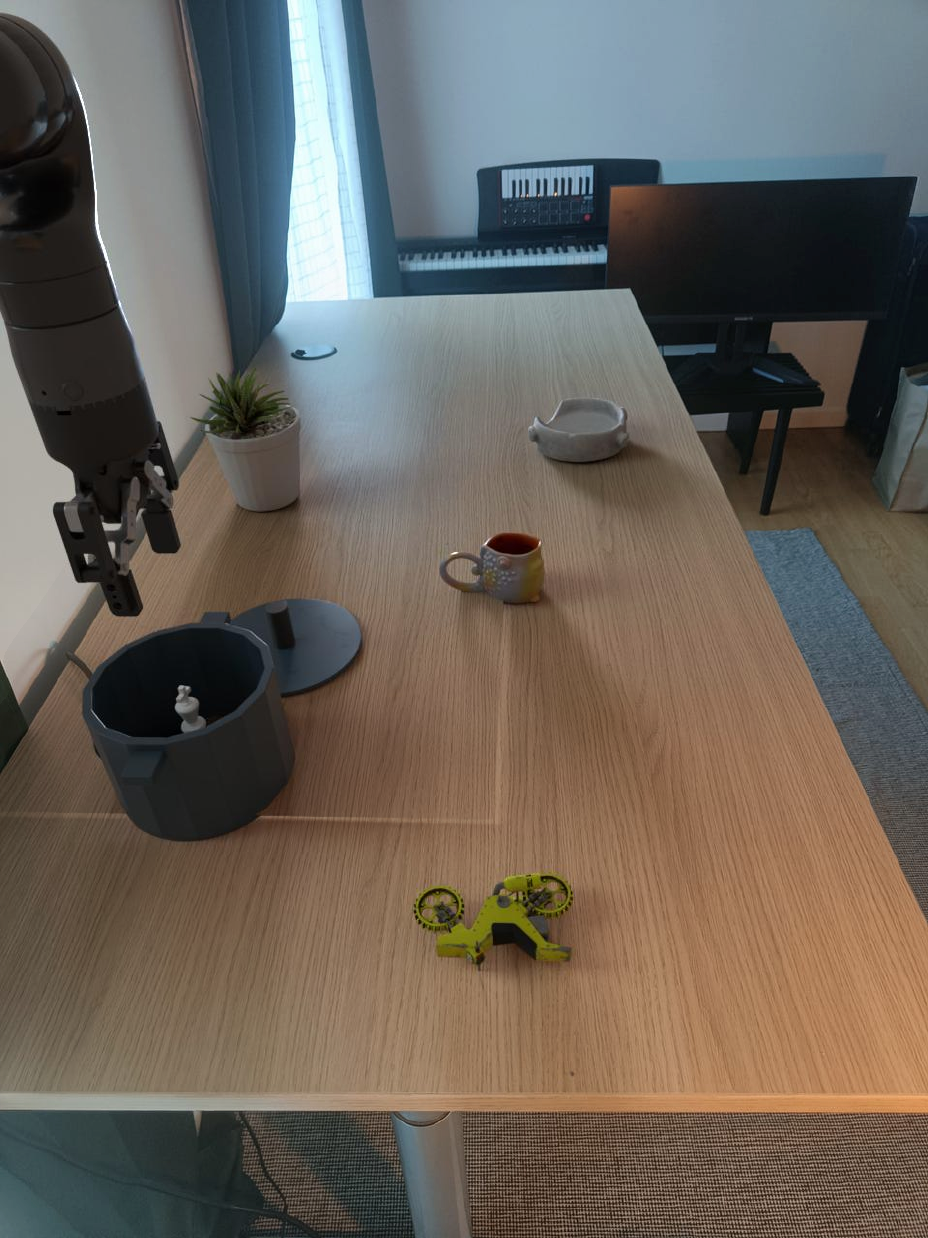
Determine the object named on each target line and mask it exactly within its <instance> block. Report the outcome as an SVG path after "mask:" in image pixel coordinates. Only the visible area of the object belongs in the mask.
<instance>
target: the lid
mask: <svg viewBox="0 0 928 1238" xmlns="http://www.w3.org/2000/svg"><path fill="white" fill-rule="evenodd" d="M229 625H232V626H236V627H239V628H243V629H246V630H250V631H251V632H252V633H254V634H255V635H256V636H257V637H258V638H259V639H261V640H262V641H263V642H264V643H265V644H266V645H268V647H269V649H270V653H271V657H272V661H273V665H274V669H275V673H276V677H277V682H278V686H279V690H280V694H281V698H283V697H290V696H294V695H299V694H303V693H306V692H309V691H311V690H314V689H317V688H319V687H321V686H324V685H325V684H327V683H330V682H331V681H332V680H334V679H336V678H337V677H338V676H340V675H341V674H343V673H344V672H345V671H346V670H347V669H348V668H349V667H350V666H351V665H352V664H353V662H354V661H355V660H356V658H357V656H358V654H359V653H360V650H361V647H362V642H363V637H362V636H363V634H362V629H361V625H360V624H359V622H358V620H357V618H356V617H355V616H354V615H353V613H351V612H350V611H349V610H347V609H346V608H344V607H342V606H341V605H339V604H336V603H334V602H330V601H328V600H322V599H317V598H303V597H301V598H287V599H286V598H285V599H278V600H273V601H270V602H267V603H263V604H260V605H256V606H254V607H252V608H249V609H247V610H245V611H242V612H241V613H239V614H237V615H235V616H234V617H232V618H231V621H230V624H229Z"/></svg>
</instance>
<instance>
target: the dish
mask: <svg viewBox="0 0 928 1238" xmlns="http://www.w3.org/2000/svg"><path fill="white" fill-rule="evenodd" d="M533 421H534V422H533V425H530V426H528V430H527V431H528V439H529V441H530V442H532V443H535V445H536V448H537V450H538V452H539V453H541V454H542V455H544V456H545V457H548V458H550V459H553V460H557V461H563V462H568V463H569V462H571V463H586V462H593V461H598V460H603V459H607V458H610V457H613V456H615V455H617V454H618V453H619V452H620V451H621V450H622V449H624V448H625V447H626V446H627V445H628V444H629V439H630V433H629V432H627V421H628V412H627V410H626V407H624V406H620V405H618V404H617V403H615V402H613V401H611V400H608V399H604V398H598V397H597V398H595V397H574V398H567V399H566V398H565V399H563V400H561V401H560V403H559V404H558V406H557V408H556V410H555V412H554V414H553V415H552V417H551V418H550V420H549V421H548V422H543V421H542V419H541V418H540V416H536V417H535V418H534V420H533Z"/></svg>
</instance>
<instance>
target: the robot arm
mask: <svg viewBox="0 0 928 1238" xmlns="http://www.w3.org/2000/svg"><path fill="white" fill-rule="evenodd" d="M87 118H88V117H87V113H86V109H85V105H84V101H83V98H82V94H81V92H80V89H79V85H78V83H77V81H76V78H75V76H74V74H73V71H72V69H71V67H70V65H69V63H68V61H67V60H66V58H65V56H64V54H63V53H62V51H61V50H60V48H59V47H58V46H57V44H56V43H55V42H54V41H53V40H52V39H51V38H50V37H49V35H47V34H46V33H45V32H44V31H43V30H42V29H41V28H39V27H38V26H37V25H35V24H34V23H32V22H31V21H29V20H27V19H25V18H24V17H23V18H22V17H20V16H17V15H14V14H10V13H7V12H0V315H1V318H2V320H3V324H4V327H5V331H6V334H7V340H8V343H9V344H8V345H9V348H10V354H11V357H12V360H13V363H14V366H15V369H16V371H17V375H18V377H19V380H20V383H21V386H22V388H23V391H24V393H25V396H26V399H27V402H28V404H29V407H30V411H31V413H32V416H33V419H34V422H35V424H36V427H37V430H38V431H39V432H38V433H39V435H40V437H41V440H42V444H43V446H44V449H45V451H46V453H47V455H48V456H49V457H50V458H51V459H52V460H53V461H55V462H57V463H60V464H61V465H63V466H64V467H66V468H68V469H69V470H70V471H71V472H72V477H73V481H74V482H73V483H74V492H75V493H74V494H75V496H73V498H72V499H70V500H68V501H56V502H54V504H53V506H52V515H53V518H54V521H55V523H56V526H57V530H58V532H59V535H60V539H61V541H62V544H63V547H64V550H65V554H66V556H67V559H68V563H69V565H70V566H69V567H70V569H71V571H72V574H73V577H74V580H75V582H76V583H78V584H88V583H91V584H93V583H94V584H95V583H97V584H98V583H99V584H100V587H101V590H102V592H103V595H104V598H105V601H106V603H107V607H108V609H109V611H110V613H111V614H112V615H113V616H115V617H119V618H120V617H121V618H122V617H123V618H128V617H129V618H130V617H133V618H135V617H139V616H140V615H141V613H142V611H143V610H144V604H143V601H142V598H141V595H140V592H139V589H138V586H137V583H136V580H135V577H134V574H133V571H132V569H131V568H130V545H131V544H132V543H134V542H135V541H136V539H137V517H138V515H139V512H140V510H142V511H141V513H140V515H141V518H142V522H143V525H144V529H145V532H146V535H147V538H148V541H149V544H150V548H151V550H152V552H153V553H154V554H159V555H161V554H162V555H163V554H167V555H168V554H169V555H170V554H172V555H173V554H177V553H178V552H179V550H180V549H181V547H182V542H181V539H180V536H179V533H178V529H177V526H176V522H175V519H174V516H173V512H172V508H173V507H174V503H175V501H174V497H173V494H172V492H173V491H178V489H179V487H180V481H179V478H178V474H177V470H176V467H175V464H174V460H173V457H172V455H171V454H172V453H171V451H170V447H169V444H168V440H167V438H166V434H165V431H164V428H163V425H162V422H161V421H160V420H158V419H157V417H156V414H155V413H156V412H155V409H154V405H153V402H152V399H151V395H150V391H149V388H148V384H147V380H146V376H145V373H144V369H143V366H142V363H141V358H140V355H139V351H138V348H137V343H136V341H135V338H134V335H133V332H132V329H131V327H130V325H129V322H128V321H127V318H126V315H125V313H124V310H123V308H122V305H121V302H120V297H119V295H118V290H117V288H116V283H115V280H114V276H113V272H112V269H111V266H110V265H111V264H110V263H109V259H108V255H107V252H106V249H105V245H104V244H103V243H104V242H103V240H102V238H101V234H100V229H99V222H98V211H97V189H96V180H95V172H94V171H95V170H94V164H93V163H94V162H93V152H92V145H91V137H90V129H89V125H88V124H89V123H88V119H87ZM155 467H160V468H161V470H162V472H163V474H161V475H160V474H159V473H158V472H157V470H155ZM103 523H104V524H107V525H120V526H119V528H118V529H115V530H114V529H110V530H105V528H104V524H103ZM109 543H114V558H113V555H112V552H111V551H112V550H111V547H110V544H109ZM85 555H87V559H86V556H85Z"/></svg>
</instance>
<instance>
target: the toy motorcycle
mask: <svg viewBox="0 0 928 1238" xmlns="http://www.w3.org/2000/svg"><path fill="white" fill-rule="evenodd" d="M550 883H555V884H557V886H558V888H556V889H555V890H551V889H550V888H548V885H549V884H550ZM542 886H543V889H542ZM541 889H542V890H541ZM502 890H505V891H506V892H509V894H507V893H503V894H500V892H501V891H502ZM539 890H540V891H539ZM519 892H521V893H522V896H519ZM514 894H515V896H516V897H511V896H512V895H514ZM556 894H563V896H564V897H565V898H564V900H563V901H558V900H556V899H555V895H556ZM445 895H447V896H449V897H450V900H449V902H447V903H444V901H442V900H441V897H442V896H445ZM430 897H434V898H435V900H436V902H435V903H434V904H432V905H431V904H430V905H429V904H427V902H426V900H427V899H428V898H430ZM573 901H574V890H573V889H572V885H571V884H568V879H564V877H563V875H561V876H559V875H558V873H556V872H555V873H554V874H553V873H551V871H548V873H545V871H542V873H540V872H536V873H530V874H518V875H510V876H507V877H506V878H505V879H504V880H502V881H499V882H497V883H496V884H495V886H494V888H493V892H492V894H491V895H488V896H487V897H486V899H484V902H483V904H481V907H480V909H479V911H478V913H477V916H476V917H475V919H474V921H473V924H472V925H471V928H470V929H467V927H466V926H465V925H464V923H463V922H462V921H463V919H464V917H463V915H465V902H464V898H463V896H461V892H459V891H458V892H457V889H456V888H455V887H454V888H451V886H450V885H448V886H445V884H443V883H442V884H441V885H439V884H435V886H432V885H430V886H429V888H424V889H423V892H420V891H419V893H418V897H417V896H416V897H415V902H413V907H414V908H413V909H412V911H413V915H414V920H415V921H416V922H417V925H418V926H420V925H421V929H422V930H424V929H426V932H427V933H430V931H431V932H433V934H436V932H437V933H438V932H440V934H439V935H438V938H437V942H436V955H437V958H455V959H456V958H457V959H459V958H461V959H466V962H468V964H469V965H473V966H474V967H477V971H478V972H480V971H481V965H482V963H484V962H485V961H486V952H487V951H489V949H490V948H492V947H493V946H494V947H495V946H502V945H503V946H504V945H511V944H514V945H515V946H517V947H518V948H519V949H520V950H522V951H523V952H524V953H525V954H527V955H528V956H529V958H531V959H533V960H534V961H538V962H559V963H561V962H562V963H569V962H570V961H571V960H572V957H573V956H572V954H573V948H572V947H570V946H564V945H559V944H556V943H550V942H549V929H548V925H547V919H550V921H554V919H555V918H556V919H558V920H559V919H560V917H561V916H563V917H564V916H565V915H566V912H567V913H569V912H570V907H571V908H572V906H573ZM552 903H553V904H554V905H555V908H554V909H552V910H548V909H547V906H548V905H550V904H552ZM451 906H452V907H454V908H455V909H456V911H455V912H454V911H453V910H452V908H451ZM427 909H429V910H432V912H433V914H432V915H431V916H430V917H424V915H423V911H425V910H427ZM529 912H531V913H529ZM435 918H437V919H438V920H437V922H438V923H437V922H436V921H435ZM444 931H446V932H447V933H445V934H443V932H444Z"/></svg>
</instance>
